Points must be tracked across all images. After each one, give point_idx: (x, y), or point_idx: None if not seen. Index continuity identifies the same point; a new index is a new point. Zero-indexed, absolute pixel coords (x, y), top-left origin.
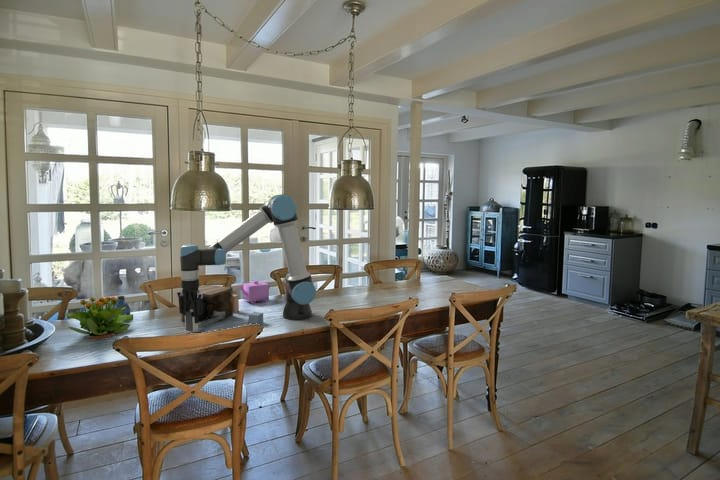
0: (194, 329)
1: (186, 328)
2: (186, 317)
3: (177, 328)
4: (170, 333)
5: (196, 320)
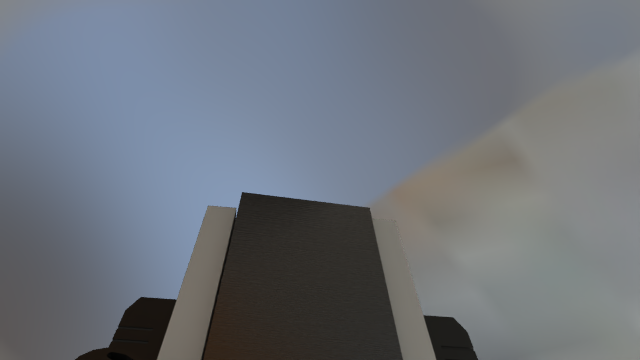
0: (203, 223)
1: (361, 221)
2: (375, 353)
3: (616, 326)
4: (606, 126)
5: (126, 338)
